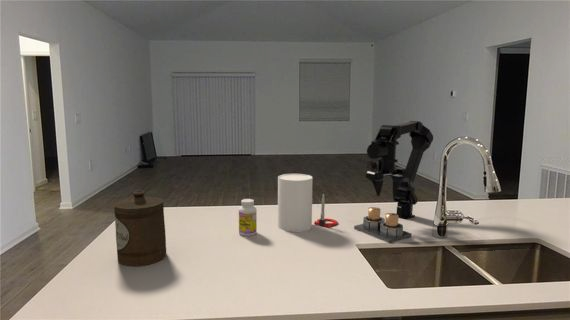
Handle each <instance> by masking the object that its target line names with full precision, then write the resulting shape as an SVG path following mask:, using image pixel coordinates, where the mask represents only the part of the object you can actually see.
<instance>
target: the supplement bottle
mask: <svg viewBox="0 0 570 320" xmlns="http://www.w3.org/2000/svg"><path fill="white" fill-rule="evenodd" d="M254 201H255V200H254V199H251V198H243V199H242V200H241V201H240V203H241V206H240V207H239V208H238V234H239V235H240V236H244V237H249V236H250V237H251V236H254V235H256V234H257V227H258V226H257V217H258V216H257V211H258V210H257V207H256V206H254V204H255V202H254Z"/></svg>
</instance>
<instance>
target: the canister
mask: <svg viewBox="0 0 570 320" xmlns="http://www.w3.org/2000/svg"><path fill="white" fill-rule="evenodd" d="M313 180H314V179H313V176H312V175H311V174H304V173H283V174H281V175H278V176H277V228H278V229H279V230H281V229H282V230H281V231H286V232H290V231H291V232H293V233H295V232H296V233H297V232H306V231H309V230H310V229H312V228H313V227H312V226H313V223H312V222H313V221H312V220H313Z"/></svg>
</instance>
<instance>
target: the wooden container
mask: <svg viewBox="0 0 570 320" xmlns="http://www.w3.org/2000/svg"><path fill="white" fill-rule="evenodd" d="M132 194H133V197H130V198H124V199H120V200H118V201H116V202H114V204H113V208H114V211H113V212H114V219H115V224H114V225H115V241H116V242H115V245H116V253H117V254H116V255H117V257H116V258H117V261H118V263H119V264H120V265H123V266H131V267H139V266H147V265H151V264H155V263H157V262H159V261H162V260H163V259H164V258H165V257H166V256H167V242H166V241H167V238H166V225H165V224H166V223H165V210H164V209H165V208H164V206H165V205H164V200H163V199H162V198H160V197H154V196H145V191H144V190H142V189H136V190H134V192H133V193H132Z"/></svg>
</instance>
